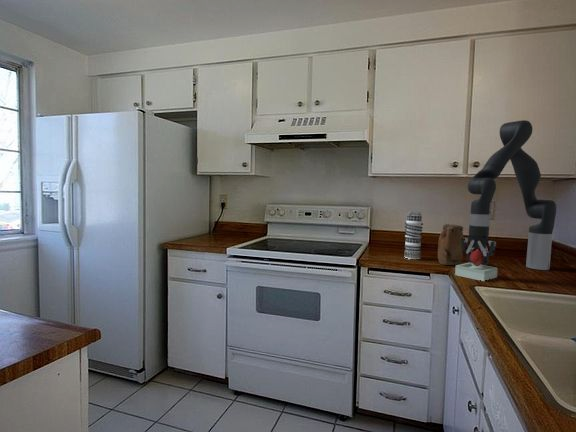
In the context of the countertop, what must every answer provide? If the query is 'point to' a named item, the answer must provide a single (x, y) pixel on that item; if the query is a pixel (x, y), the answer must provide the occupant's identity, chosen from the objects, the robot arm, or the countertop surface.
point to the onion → (476, 257)
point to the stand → (476, 271)
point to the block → (450, 245)
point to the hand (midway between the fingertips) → (476, 263)
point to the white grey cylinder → (413, 235)
